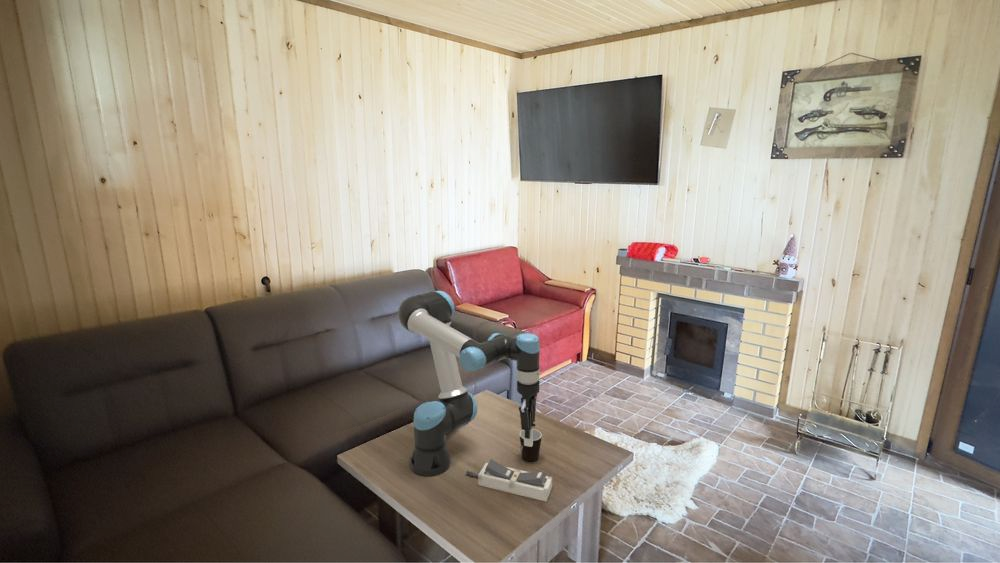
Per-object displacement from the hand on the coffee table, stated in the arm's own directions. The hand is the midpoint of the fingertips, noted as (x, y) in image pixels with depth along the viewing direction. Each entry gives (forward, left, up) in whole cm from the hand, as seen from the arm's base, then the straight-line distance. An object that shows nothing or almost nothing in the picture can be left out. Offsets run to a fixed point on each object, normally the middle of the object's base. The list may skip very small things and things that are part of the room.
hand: (528, 445), depth 161 cm
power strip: (-8, +1, -18) cm, 19 cm away
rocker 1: (-11, +1, -13) cm, 17 cm away
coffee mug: (-5, +21, -18) cm, 28 cm away
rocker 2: (+1, +1, -13) cm, 13 cm away
